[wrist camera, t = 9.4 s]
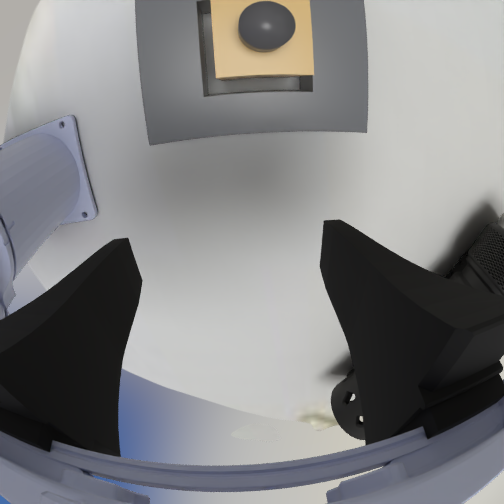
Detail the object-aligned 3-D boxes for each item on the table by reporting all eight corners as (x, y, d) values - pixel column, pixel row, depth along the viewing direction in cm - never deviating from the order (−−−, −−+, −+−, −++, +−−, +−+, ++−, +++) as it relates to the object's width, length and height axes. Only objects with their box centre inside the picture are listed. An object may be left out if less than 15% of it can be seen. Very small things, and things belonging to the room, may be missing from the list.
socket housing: (162, 135, 16) (149, 145, 14) (149, -5, 11) (134, -18, 8) (347, 124, 16) (366, 132, 14) (342, -12, 11) (360, -24, 8)
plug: (221, 80, 15) (213, 76, 8) (217, 22, 12) (207, -18, 6) (287, 77, 15) (325, 74, 8) (284, 20, 12) (318, -17, 6)
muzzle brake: (320, 371, 33) (337, 444, 24) (481, 189, 19) (554, 249, 11) (368, 378, 36) (388, 439, 27) (507, 230, 22) (560, 284, 14)
